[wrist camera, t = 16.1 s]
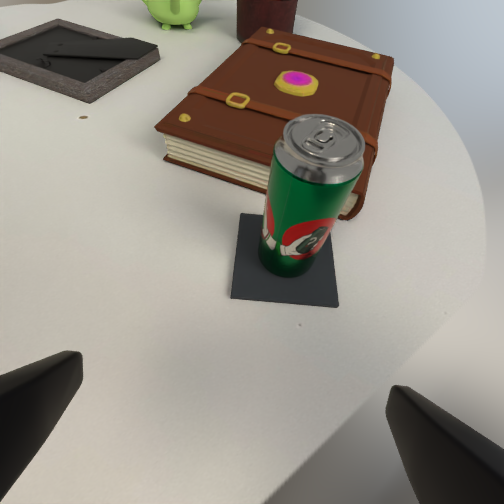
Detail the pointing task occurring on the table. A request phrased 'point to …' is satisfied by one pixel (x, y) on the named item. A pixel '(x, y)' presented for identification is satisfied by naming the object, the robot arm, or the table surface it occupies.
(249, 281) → the coaster mat
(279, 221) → the soda can
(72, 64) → the picture frame
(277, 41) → the book
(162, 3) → the teapot
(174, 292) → the table surface
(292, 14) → the vase
